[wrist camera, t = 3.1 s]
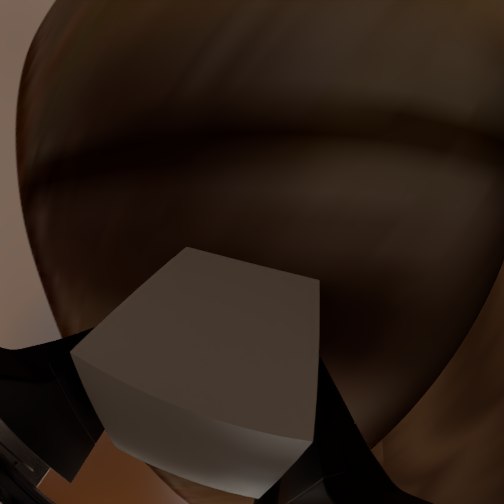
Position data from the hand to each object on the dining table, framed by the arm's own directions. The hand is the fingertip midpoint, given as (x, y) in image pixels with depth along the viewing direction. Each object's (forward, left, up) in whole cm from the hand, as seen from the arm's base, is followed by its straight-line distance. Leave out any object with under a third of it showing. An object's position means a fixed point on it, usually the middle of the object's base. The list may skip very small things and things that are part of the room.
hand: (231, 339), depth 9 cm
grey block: (0, 0, -1) cm, 1 cm away
